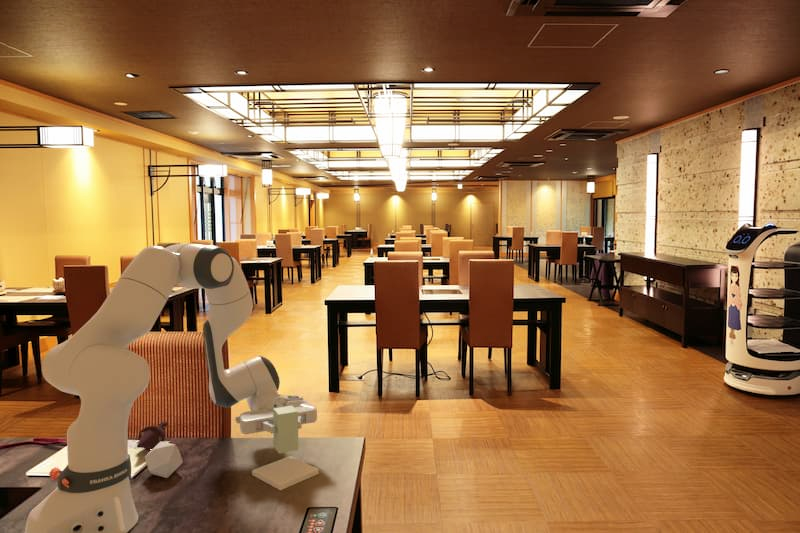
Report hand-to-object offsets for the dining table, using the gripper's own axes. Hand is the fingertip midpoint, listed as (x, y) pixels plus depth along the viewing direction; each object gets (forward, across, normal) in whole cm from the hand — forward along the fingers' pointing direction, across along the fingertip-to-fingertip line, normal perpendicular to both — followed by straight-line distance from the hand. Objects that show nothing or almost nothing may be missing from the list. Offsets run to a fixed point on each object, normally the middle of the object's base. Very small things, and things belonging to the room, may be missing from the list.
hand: (286, 428), depth 138 cm
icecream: (-33, -29, +13) cm, 46 cm away
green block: (-1, 0, +6) cm, 6 cm away
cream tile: (-1, 0, +12) cm, 13 cm away
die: (-15, -28, +13) cm, 34 cm away
